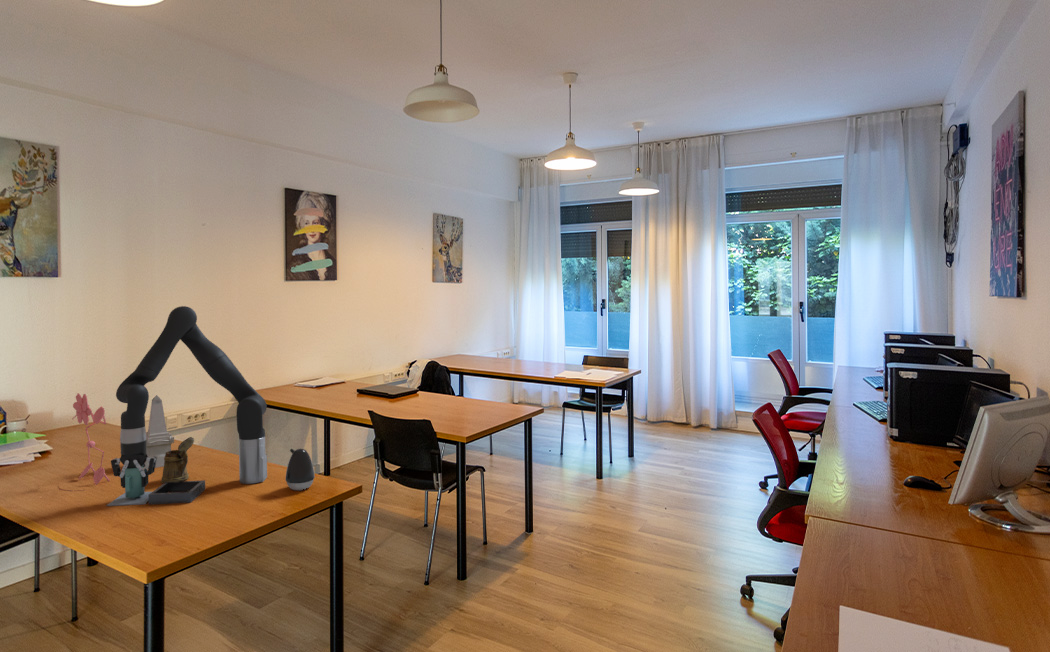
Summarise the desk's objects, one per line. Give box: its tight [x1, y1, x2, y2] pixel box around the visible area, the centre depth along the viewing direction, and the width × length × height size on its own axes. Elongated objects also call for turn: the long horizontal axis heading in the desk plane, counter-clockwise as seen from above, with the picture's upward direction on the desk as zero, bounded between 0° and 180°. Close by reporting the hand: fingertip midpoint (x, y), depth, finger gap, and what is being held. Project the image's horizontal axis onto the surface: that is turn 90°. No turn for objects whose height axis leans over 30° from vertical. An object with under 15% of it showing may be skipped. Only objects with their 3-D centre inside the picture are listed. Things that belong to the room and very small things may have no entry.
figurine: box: [59, 393, 110, 492], centre depth 212 cm, size 15×26×35 cm, turn 59°
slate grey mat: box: [106, 491, 153, 507], centre depth 198 cm, size 12×12×1 cm
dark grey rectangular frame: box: [148, 479, 206, 506], centre depth 201 cm, size 13×13×4 cm
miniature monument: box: [145, 394, 175, 470], centre depth 238 cm, size 10×10×30 cm
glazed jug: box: [124, 466, 146, 498], centre depth 198 cm, size 9×6×10 cm, turn 11°
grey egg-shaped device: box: [285, 448, 316, 491], centre depth 211 cm, size 10×10×15 cm
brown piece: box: [160, 436, 195, 484], centre depth 218 cm, size 9×14×18 cm, turn 69°
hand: (134, 486), depth 198 cm, fingers closed on glazed jug, 5 cm apart
